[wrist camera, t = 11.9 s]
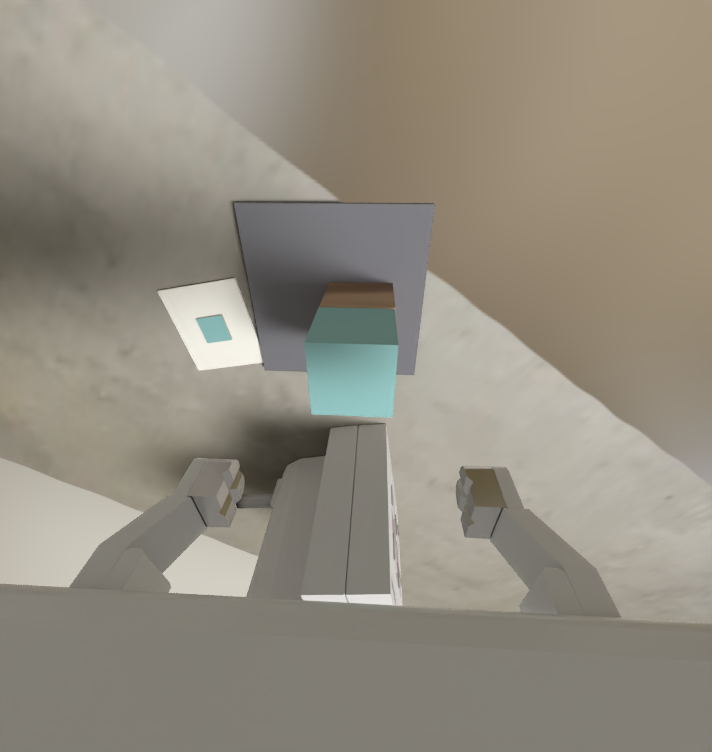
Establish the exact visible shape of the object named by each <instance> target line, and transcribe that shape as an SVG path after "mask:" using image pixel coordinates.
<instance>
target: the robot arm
mask: <svg viewBox="0 0 712 752" xmlns="http://www.w3.org/2000/svg"><path fill="white" fill-rule="evenodd" d="M239 467H240V464H239V462H238V460H232V459H215V458H195V459H194V460H193V461H192V462H191V464H190V466H189V467H188V469H187V471H186V472H185V474H184V476H183V477H182V479H181V481H180V482H179V484H178V486H177V487H176V489H175V491H174V492H173V494H172V496H167V497H165V498H164V499H162V500H161V501H160V502H158V503H157V504H155V505H154V506H153V507H151V508H150V509H148V510H147V511H146V512H144V513H143V514H142V515H140V516H139V517H137V518H136V519H135V520H133V521H132V522H130V523H129V524H128V525H126V526H125V527H123V528H122V529H121V530H119V531H118V532H116V533H115V534H114V535H112V536H111V537H110V538H108V539H107V540H105V541H104V542H102V543H101V544H100V545H99V546H98V547H97V549H96V550H95V551H94V553H93V554H92V556H91V557H90V559H89V560H88V562H87V563H86V564H85V566H84V567H83V569H82V570H81V571H80V573H79V574H78V575H77V577H76V578H75V580H74V581H73V583H72V584H71V585H70V587H50V586H32V585H14V584H13V585H12V584H0V752H712V623H706V622H688V621H670V620H652V619H633V618H621V616H620V614H619V612H618V610H617V608H616V606H615V604H614V602H613V600H612V598H611V596H610V594H609V593H608V591H607V589H606V587H605V585H604V583H603V581H602V579H601V577H600V575H599V573H598V571H597V569H596V568H595V567H594V566H592V565H591V564H590V563H589V562H588V561H587V560H586V559H585V558H583V557H582V556H581V555H580V554H579V553H578V552H577V551H576V550H574V549H573V548H572V547H571V546H570V545H569V544H568V543H567V542H565V541H564V540H563V539H562V538H561V537H560V536H559V535H557V534H556V533H555V532H554V531H553V530H552V529H551V528H550V527H548V526H547V525H546V524H545V523H544V522H543V521H542V520H541V519H539V518H538V517H537V516H536V515H535V514H534V513H533V512H531V511H530V510H529V509H524V506H523V504H522V502H521V499H520V497H519V494H518V492H517V490H516V487H515V485H514V482H513V480H512V478H511V475H510V473H509V470H508V469H507V468H506V467H490V466H462V467H461V468H460V472H459V473H460V477H461V478H460V479H459V480H458V481H457V485H456V499H457V504H458V508H459V509H460V510H461V511H462V512H463V513H462V516H461V522H462V527H463V531H464V535H465V537H469V538H483V539H490V541H491V542H492V543H493V545H494V546H495V547H496V548H497V550H498V551H499V552H500V553H501V555H502V556H503V557H504V558H505V560H506V561H507V562H508V563H509V565H510V566H511V567H512V568H513V570H514V571H515V572H516V573H517V575H518V576H519V577H520V578H521V579H522V581H523V582H524V583H525V584H526V586H527V587H528V588H529V589H530V590H529V591H528V593H527V595H526V596H525V598H524V599H523V601H522V602H521V604H520V605H519V606H520V610H521V612H506V611H488V610H470V609H451V608H433V607H415V606H397V605H379V604H361V603H343V602H325V601H306V600H288V599H270V598H252V597H233V596H215V595H197V594H179V593H168V592H169V590H170V588H171V586H170V583H169V581H168V580H167V579H166V578H165V577H164V575H163V574H162V573H163V572H164V571H165V570H166V569H167V568H168V567H169V566H170V565H171V564H172V563H173V562H174V561H175V560H176V559H177V558H178V557H179V556H180V555H181V554H182V553H183V551H185V550H186V549H187V548H188V547H189V545H191V544H192V543H193V542H194V541H195V540H196V539H197V538H198V537H199V536H200V535H201V534H202V533H203V532H204V531H205V530H206V529H207V528H206V527H230V525H231V523H232V520H233V518H234V515H235V513H236V507H235V505H234V504H236V503H237V502H238V501H239V500H240V499H241V497H242V494H243V492H244V485H245V481H244V476H243V473H241V472H240V471H239Z"/></svg>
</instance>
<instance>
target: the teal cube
mask: <svg viewBox="0 0 712 752" xmlns="http://www.w3.org/2000/svg"><path fill="white" fill-rule="evenodd" d="M304 345H305V355H306V365H307V375H308V385H309V396H310V406H311V414H317V415H343V416H368V417H392V416H393V404H394V393H395V381H396V369H397V357H398V336H397V326H396V317H395V309H380V308H338V307H319V308H318V310H317V312H316V315H315V317H314V320H313V322H312V325H311V327H310V330H309V332H308V335H307V337H306V340H305V342H304Z"/></svg>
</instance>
